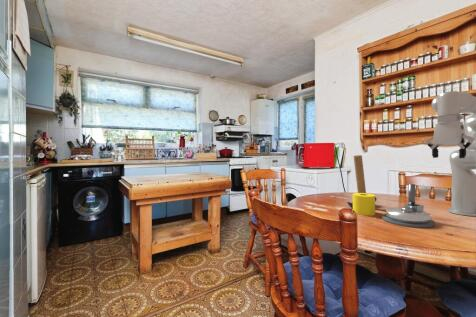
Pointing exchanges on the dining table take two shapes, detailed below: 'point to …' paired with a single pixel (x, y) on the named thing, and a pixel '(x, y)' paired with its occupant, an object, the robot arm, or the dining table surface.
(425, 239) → the dining table surface
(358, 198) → the tape roll
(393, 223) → the base
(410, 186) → the steel pin
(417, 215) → the grey pot lid
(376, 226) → the dining table surface
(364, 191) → the hammer
